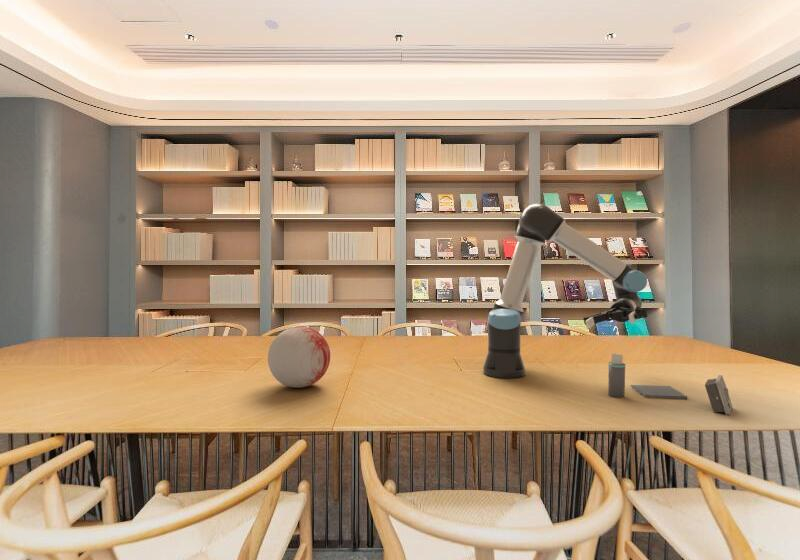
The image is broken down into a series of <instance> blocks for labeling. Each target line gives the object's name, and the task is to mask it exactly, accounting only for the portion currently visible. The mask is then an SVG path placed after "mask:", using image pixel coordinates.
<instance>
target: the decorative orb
mask: <svg viewBox="0 0 800 560" xmlns="http://www.w3.org/2000/svg"><path fill="white" fill-rule="evenodd" d="M330 363H331V350H330V346H329V344H328V341H327V340H326V339H325V337H324V336H323V335H322V334H321V333H320V332H319V331H317V330H316V329H314V328H311V327H309V326H292V327H290V328H288V329H285V330H283V331H282V332H280V333H278V335H277V336H275V338H274V339H273V340H272V341H271V344H269V348H268V352H267V364H268V367H269V371H270V372H271V374H272V376H273V378H274V379H275V380H276V381H277V382H279V383H280V384H281V385H284V386H286V387H290V388H294V389H296V388H297V389H301V388H307V387H309V386H312V385H314V384H316V383H317V382H319V381H320V380H321V379H322V378H323V377H324V375H325V374H326V372H327V370H328V369H329V366H330Z"/></svg>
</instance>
